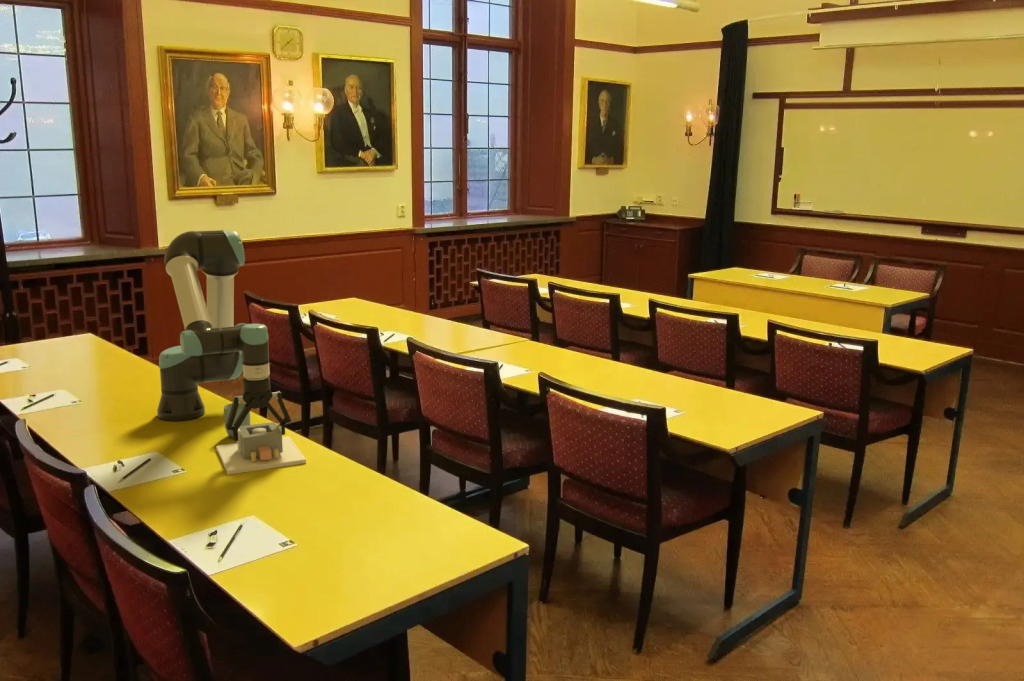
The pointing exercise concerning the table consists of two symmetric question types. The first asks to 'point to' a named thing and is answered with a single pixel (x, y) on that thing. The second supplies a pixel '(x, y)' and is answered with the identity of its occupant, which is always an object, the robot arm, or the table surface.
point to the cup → (226, 414)
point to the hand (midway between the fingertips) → (260, 448)
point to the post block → (239, 464)
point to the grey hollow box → (261, 440)
